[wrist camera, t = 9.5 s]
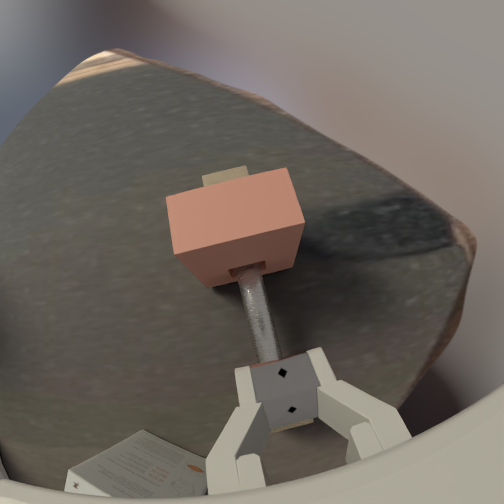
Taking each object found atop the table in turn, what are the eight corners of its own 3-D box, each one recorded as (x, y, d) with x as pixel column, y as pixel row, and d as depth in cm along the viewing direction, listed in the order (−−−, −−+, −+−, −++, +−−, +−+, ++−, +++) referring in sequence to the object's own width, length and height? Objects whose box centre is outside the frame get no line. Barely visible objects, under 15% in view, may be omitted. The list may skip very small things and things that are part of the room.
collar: (292, 267, 28) (305, 222, 18) (207, 288, 28) (174, 254, 18) (281, 227, 30) (286, 167, 20) (199, 247, 29) (166, 197, 19)
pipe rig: (306, 410, 25) (313, 422, 20) (262, 420, 25) (261, 435, 20) (249, 190, 31) (245, 165, 27) (211, 200, 31) (201, 176, 27)
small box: (126, 474, 23) (55, 524, 11) (142, 427, 25) (65, 466, 12) (198, 508, 22) (159, 583, 9) (220, 463, 24) (186, 533, 11)
